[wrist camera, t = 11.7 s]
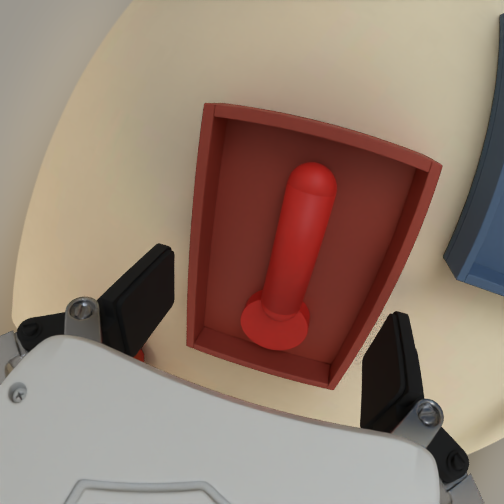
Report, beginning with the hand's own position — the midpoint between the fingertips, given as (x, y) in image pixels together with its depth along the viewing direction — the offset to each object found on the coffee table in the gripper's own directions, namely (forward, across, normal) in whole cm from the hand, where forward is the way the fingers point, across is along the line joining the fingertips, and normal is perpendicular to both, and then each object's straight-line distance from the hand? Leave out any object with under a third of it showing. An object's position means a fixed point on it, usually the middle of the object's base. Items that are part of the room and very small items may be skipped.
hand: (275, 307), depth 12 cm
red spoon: (+5, 0, +2) cm, 6 cm away
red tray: (+6, 0, +1) cm, 6 cm away
